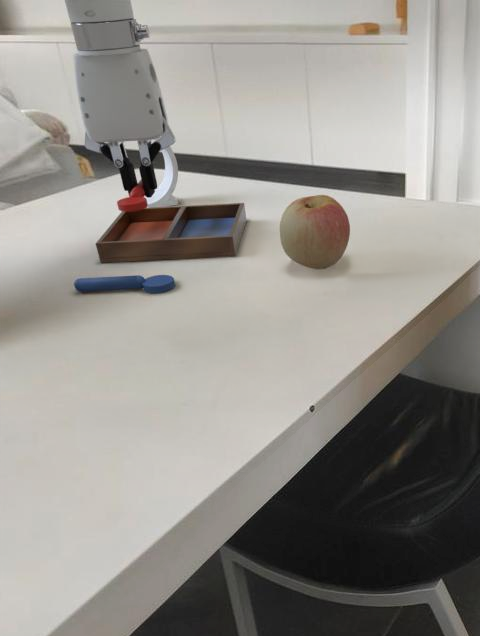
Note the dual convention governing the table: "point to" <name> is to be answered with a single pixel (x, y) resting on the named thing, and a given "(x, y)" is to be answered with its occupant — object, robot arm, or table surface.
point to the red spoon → (134, 200)
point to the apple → (315, 231)
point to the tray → (174, 233)
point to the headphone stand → (166, 182)
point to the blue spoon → (126, 283)
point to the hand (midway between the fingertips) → (142, 194)
